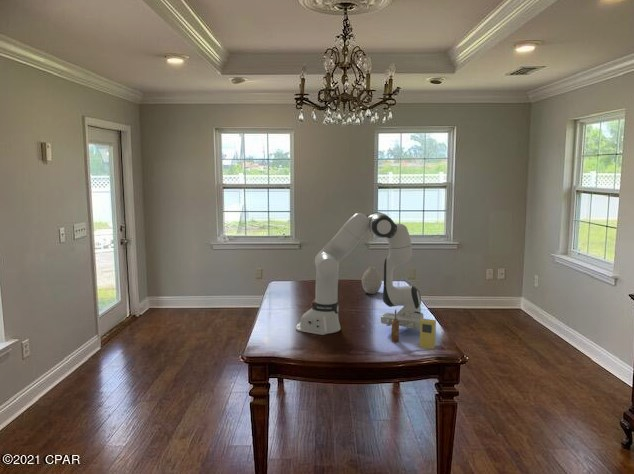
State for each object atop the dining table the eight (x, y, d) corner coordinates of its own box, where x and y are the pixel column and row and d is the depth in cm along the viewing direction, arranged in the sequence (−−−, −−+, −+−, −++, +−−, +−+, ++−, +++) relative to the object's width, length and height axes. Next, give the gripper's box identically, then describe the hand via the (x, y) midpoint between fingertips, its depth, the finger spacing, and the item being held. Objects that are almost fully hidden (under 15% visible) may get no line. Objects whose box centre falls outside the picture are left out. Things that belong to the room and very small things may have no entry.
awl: (391, 342, 220) (391, 310, 217) (391, 339, 223) (392, 308, 221) (398, 343, 219) (399, 311, 217) (398, 340, 222) (399, 309, 220)
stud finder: (421, 344, 217) (422, 318, 215) (435, 346, 215) (435, 320, 213) (419, 347, 214) (420, 321, 212) (433, 349, 211) (433, 323, 209)
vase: (365, 295, 303) (365, 269, 301) (359, 290, 316) (359, 265, 313) (384, 294, 306) (384, 269, 303) (377, 289, 318) (378, 264, 316)
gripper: (385, 308, 240) (376, 316, 227) (426, 313, 231) (419, 322, 218) (385, 320, 241) (376, 329, 228) (426, 326, 232) (419, 335, 219)
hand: (397, 325), depth 223 cm, fingers open, 8 cm apart
